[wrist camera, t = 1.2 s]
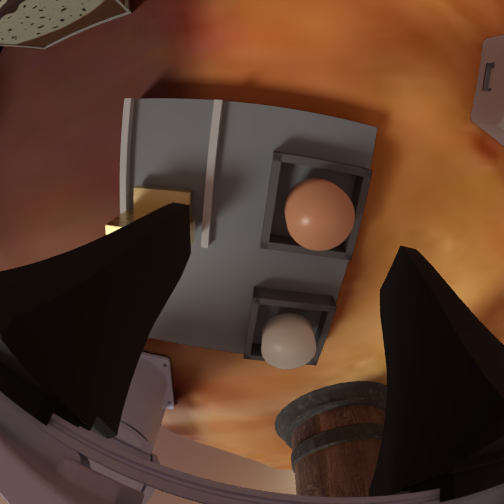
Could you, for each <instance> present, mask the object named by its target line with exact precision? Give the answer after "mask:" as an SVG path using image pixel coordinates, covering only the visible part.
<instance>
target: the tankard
mask: <svg viewBox="0 0 504 504" xmlns="http://www.w3.org/2000/svg"><path fill="white" fill-rule="evenodd" d="M386 398H387V385H384V384H381V383H377V382H369V381H354V382H346V383H339V384H335V385H331V386H326V387H323V388H320V389H317V390H314V391H312V392H309V393H307V394H305V395H303V396H301V397H299V398H297V399H296V400H294V401H292V402H291V403H289V404H288V405H287V406H286V407H285V408H284V409H282V411H281V412H280V413H279V415H278V416H277V418H276V421H275V430H276V432H277V434H278V435H279V436H280V437H281V438H282V439H283V440H284V441H285V442H286V444H287V445H288V446H289V447H290V448H292V451H293V452H292V454H291V462H292V470H293V472H294V473H295V479H296V491H297V495H302V496H317V497H369V488H370V485H371V482H372V479H373V475H374V472H375V468H376V464H377V460H378V456H379V451H380V446H381V441H382V435H383V429H384V420H385V411H386Z"/></svg>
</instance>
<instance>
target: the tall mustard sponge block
mask: <svg viewBox="0 0 504 504" xmlns="http://www.w3.org/2000/svg"><path fill="white" fill-rule="evenodd" d="M192 199H193V190H187V189H176V188H165V187H154V186H141V185H138V186H136V187H134V210H126V211H125V212H123V213H122V214H120V215H119V216H118V217H116V218H115V219H113V220H112V221H110V222H109V223H108V224H106V225H105V226H106V235H107V234H109V233H111V232H113V231H115V230H117V229H119V228H121V227H124V226H126V225H128V224H129V223H131V222H133V221H135V220H137V219H139V218H141V217H143V216H145V215H147V214H149V213H151V212H153V211H155V210H157V209H159V208H161V207H163V206H165V205H167V204H170V203H173V202H174V203H181V204H187V205H189V207H190V239H191V246H192V244H193V242H194V240H195V227H196V217H191V215H192Z"/></svg>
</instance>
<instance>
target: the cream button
mask: <svg viewBox="0 0 504 504" xmlns="http://www.w3.org/2000/svg"><path fill="white" fill-rule="evenodd" d="M261 353H262V356H263V358H264V360H265V361H266V362H267V363H268V364H270V365H271V366H273V367H276V368H280V369H294V368H298V367H301V366H303V365H305V364H307V363H308V362H309V361H310V360H311V359H312V358H313V357H314V355H315V353H316V342H315V337H314V331H313V327H312V324H311V323H310V321H309V320H308V319H307V318H305V317H304V316H302V315H299V314H295V313H283V314H279V315H276V316H274V317H272V318H271V319H269V320H268V321H267V322H266V323H265V325H264V327H263V330H262V345H261Z"/></svg>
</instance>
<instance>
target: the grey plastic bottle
mask: <svg viewBox="0 0 504 504" xmlns="http://www.w3.org/2000/svg"><path fill="white" fill-rule="evenodd" d="M486 63H487V68H486ZM485 68H486V75H485ZM484 75H485V81H484ZM483 81H484V87H483ZM482 87H483V91H482ZM471 121H472V122H473V123H474V124H476V125H477V126H479V127H480V128H481V129H483V130H484V131H485V132H487V133H488V134H489V135H490V136H492V137H493V138H494V139H495V140H497V141H498V142H499V143H500V144H502V145H503V146H504V35H499V36H495V37H491V38H487V39H485V41H484V42H483V45H482V53H481V61H480V69H479V75H478V81H477V87H476V92H475V97H474V102H473V107H472V112H471Z"/></svg>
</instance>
